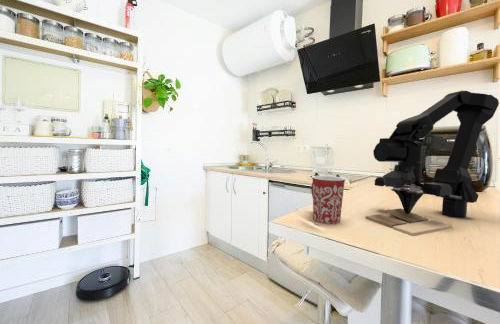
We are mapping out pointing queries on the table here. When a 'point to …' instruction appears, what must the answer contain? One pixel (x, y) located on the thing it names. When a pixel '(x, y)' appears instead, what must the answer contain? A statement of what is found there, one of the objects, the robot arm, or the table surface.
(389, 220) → the plank
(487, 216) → the table surface
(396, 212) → the plank
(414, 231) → the underlay base
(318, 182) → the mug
